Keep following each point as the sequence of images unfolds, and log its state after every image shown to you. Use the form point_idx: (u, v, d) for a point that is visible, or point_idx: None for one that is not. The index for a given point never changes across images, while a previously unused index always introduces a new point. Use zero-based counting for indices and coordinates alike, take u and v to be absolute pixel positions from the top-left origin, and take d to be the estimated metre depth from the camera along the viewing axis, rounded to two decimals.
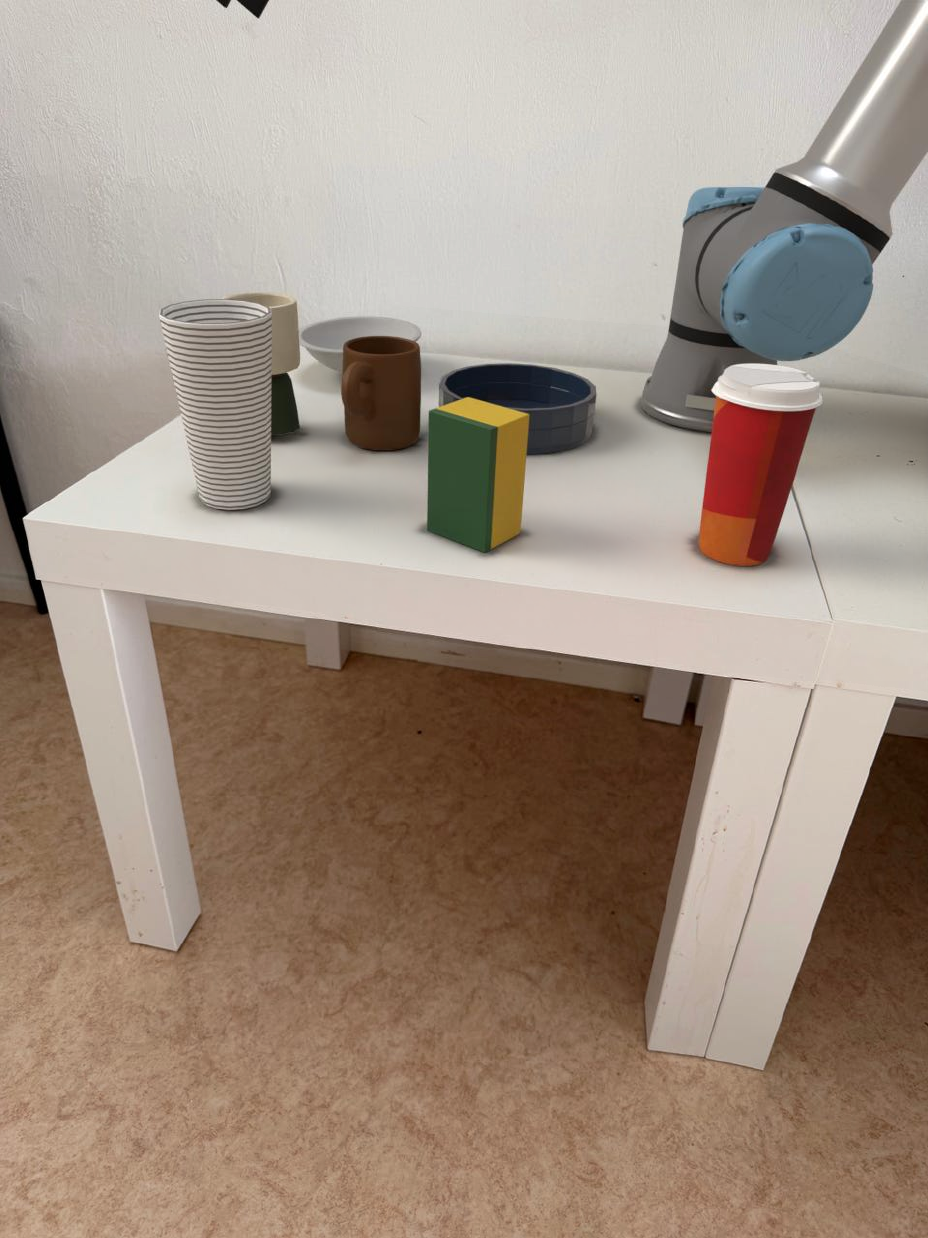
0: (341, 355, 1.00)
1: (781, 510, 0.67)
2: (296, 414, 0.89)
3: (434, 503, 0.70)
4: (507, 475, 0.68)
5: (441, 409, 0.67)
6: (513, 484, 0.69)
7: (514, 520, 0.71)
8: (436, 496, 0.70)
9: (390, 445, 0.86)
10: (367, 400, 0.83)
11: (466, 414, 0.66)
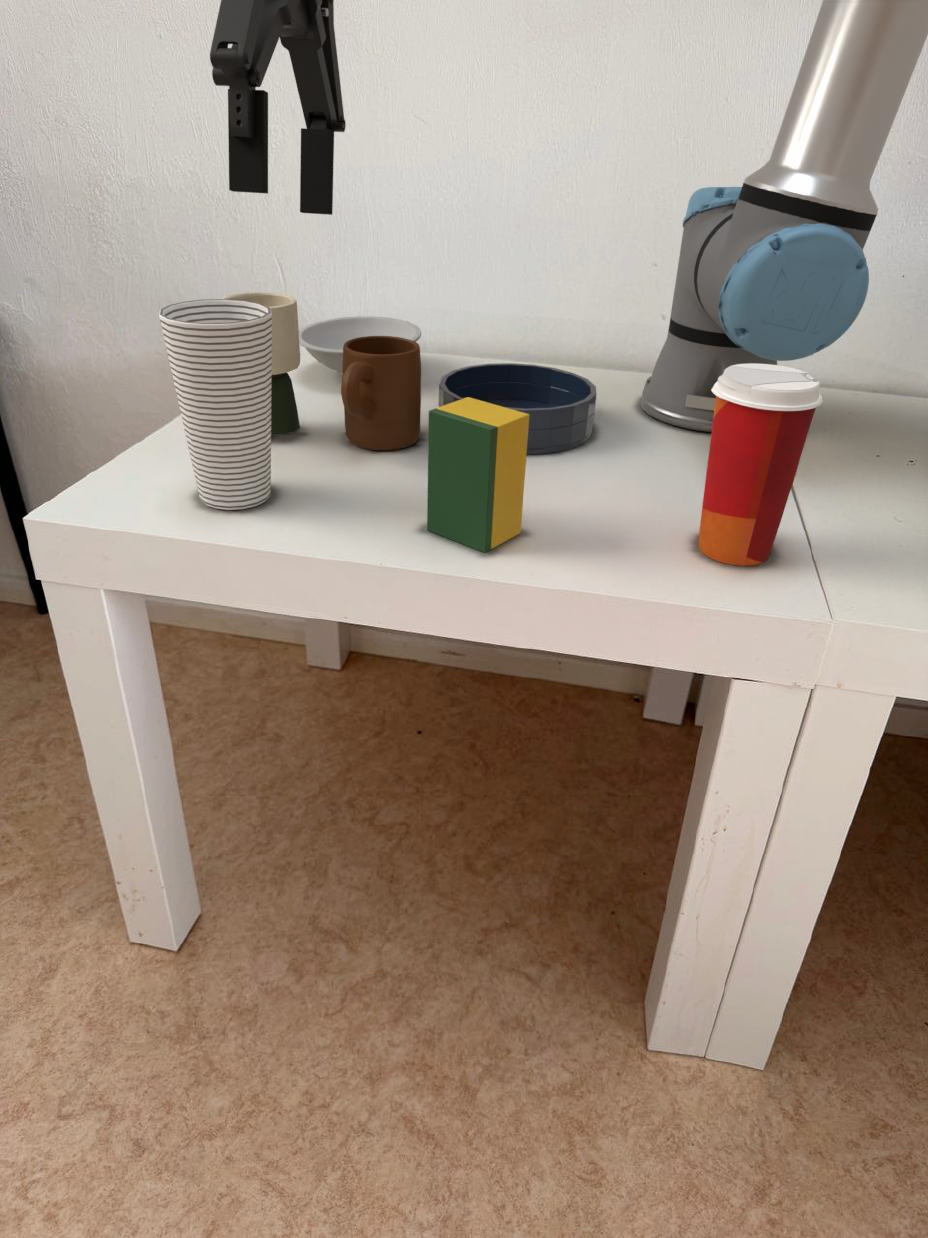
0: (341, 355, 1.00)
1: (781, 510, 0.67)
2: (296, 414, 0.89)
3: (434, 503, 0.70)
4: (507, 475, 0.68)
5: (441, 409, 0.67)
6: (513, 484, 0.69)
7: (514, 520, 0.71)
8: (436, 496, 0.70)
9: (390, 445, 0.86)
10: (367, 400, 0.83)
11: (466, 414, 0.66)
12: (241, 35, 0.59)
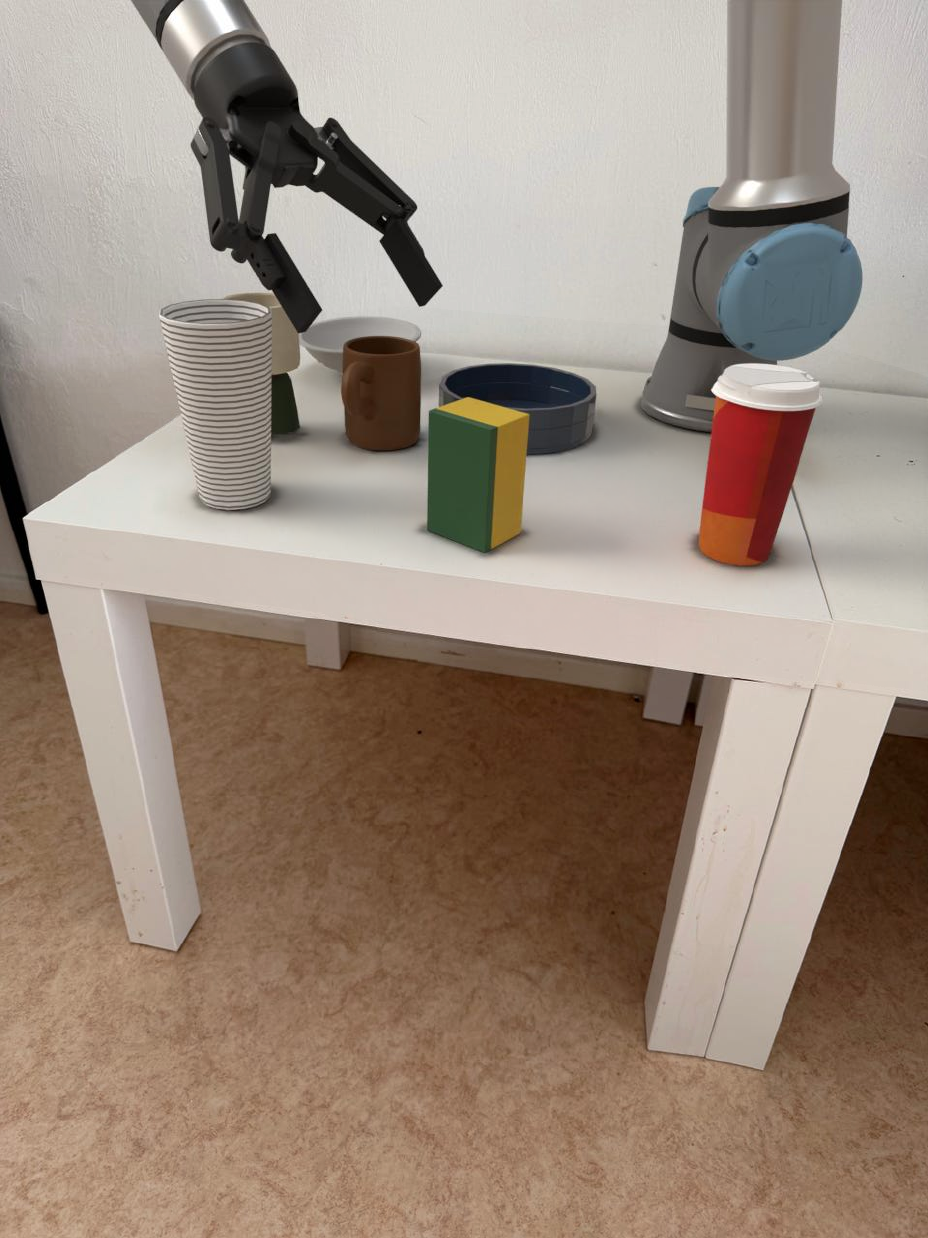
0: (341, 355, 1.00)
1: (781, 510, 0.67)
2: (296, 414, 0.89)
3: (434, 503, 0.70)
4: (507, 475, 0.68)
5: (441, 409, 0.67)
6: (513, 484, 0.69)
7: (514, 520, 0.71)
8: (436, 496, 0.70)
9: (390, 445, 0.86)
10: (367, 400, 0.83)
11: (466, 414, 0.66)
12: (219, 209, 0.62)
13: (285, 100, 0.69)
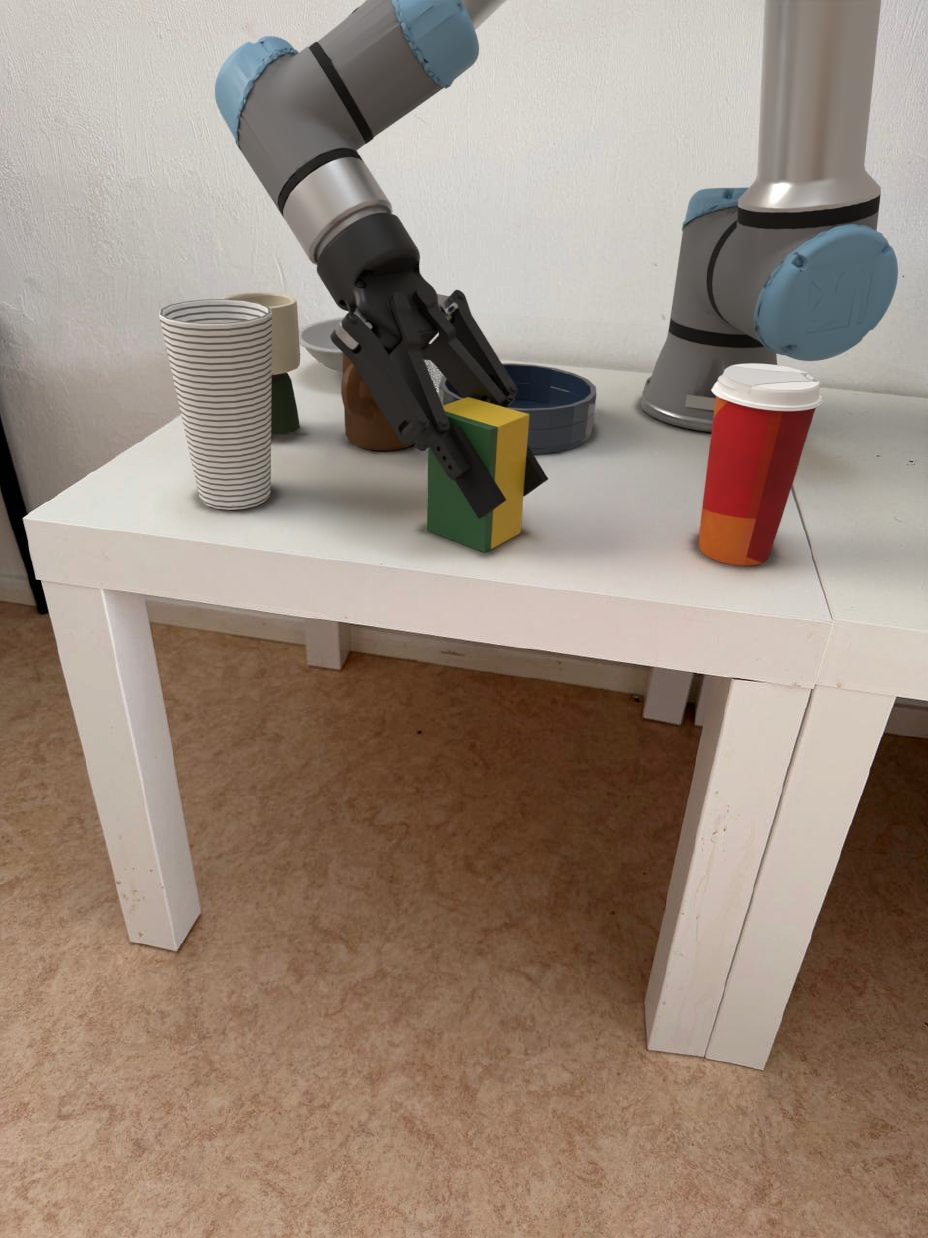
0: (341, 355, 1.00)
1: (781, 510, 0.67)
2: (296, 414, 0.89)
3: (434, 503, 0.70)
4: (507, 475, 0.68)
5: None
6: (513, 484, 0.69)
7: (514, 520, 0.71)
8: (436, 496, 0.70)
9: (390, 445, 0.86)
10: (367, 400, 0.83)
11: (465, 414, 0.66)
12: (405, 411, 0.63)
13: (408, 265, 0.68)
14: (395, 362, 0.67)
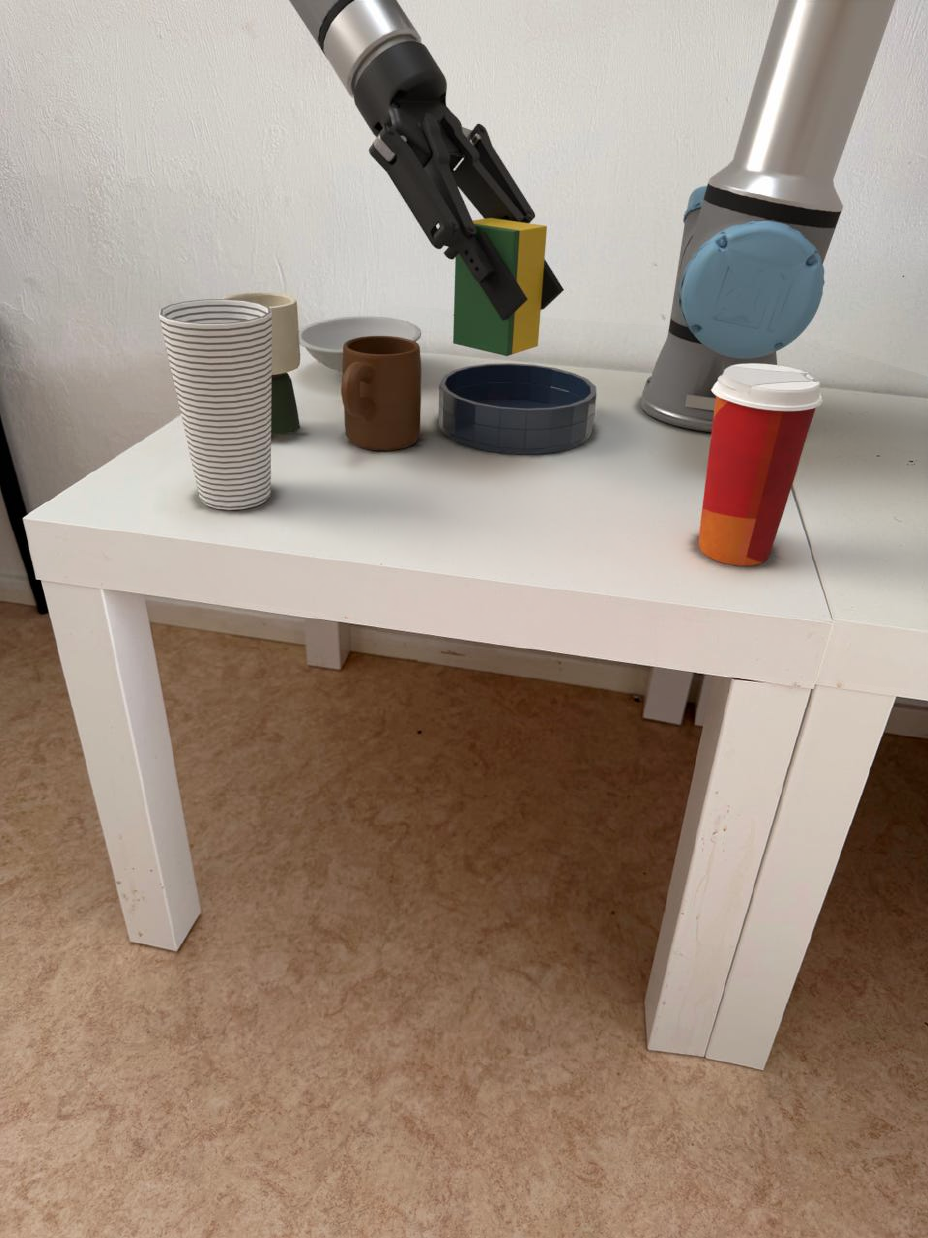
0: (341, 355, 1.00)
1: (781, 510, 0.67)
2: (296, 414, 0.89)
3: (460, 315, 0.78)
4: (527, 282, 0.75)
5: None
6: (532, 293, 0.76)
7: (532, 330, 0.78)
8: (462, 307, 0.77)
9: (390, 445, 0.86)
10: (367, 400, 0.83)
11: (490, 224, 0.74)
12: (437, 213, 0.71)
13: (436, 93, 0.75)
14: None
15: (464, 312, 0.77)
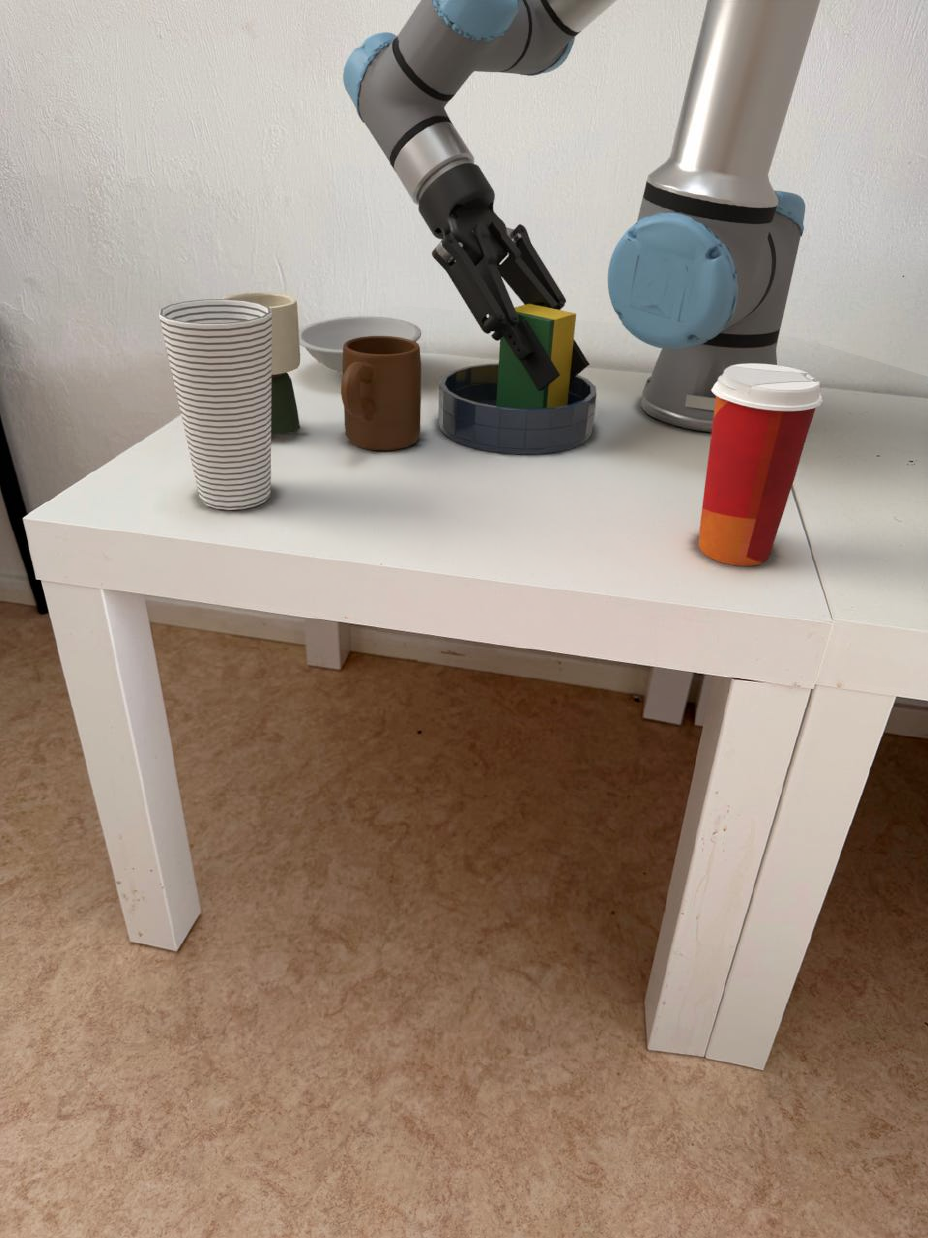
0: (341, 355, 1.00)
1: (781, 510, 0.67)
2: (296, 414, 0.89)
3: (503, 383, 0.94)
4: (559, 359, 0.91)
5: None
6: (563, 367, 0.92)
7: (563, 396, 0.94)
8: (505, 378, 0.93)
9: (390, 445, 0.86)
10: (367, 400, 0.83)
11: (529, 312, 0.90)
12: (487, 306, 0.87)
13: (486, 203, 0.91)
14: None
15: (506, 382, 0.93)
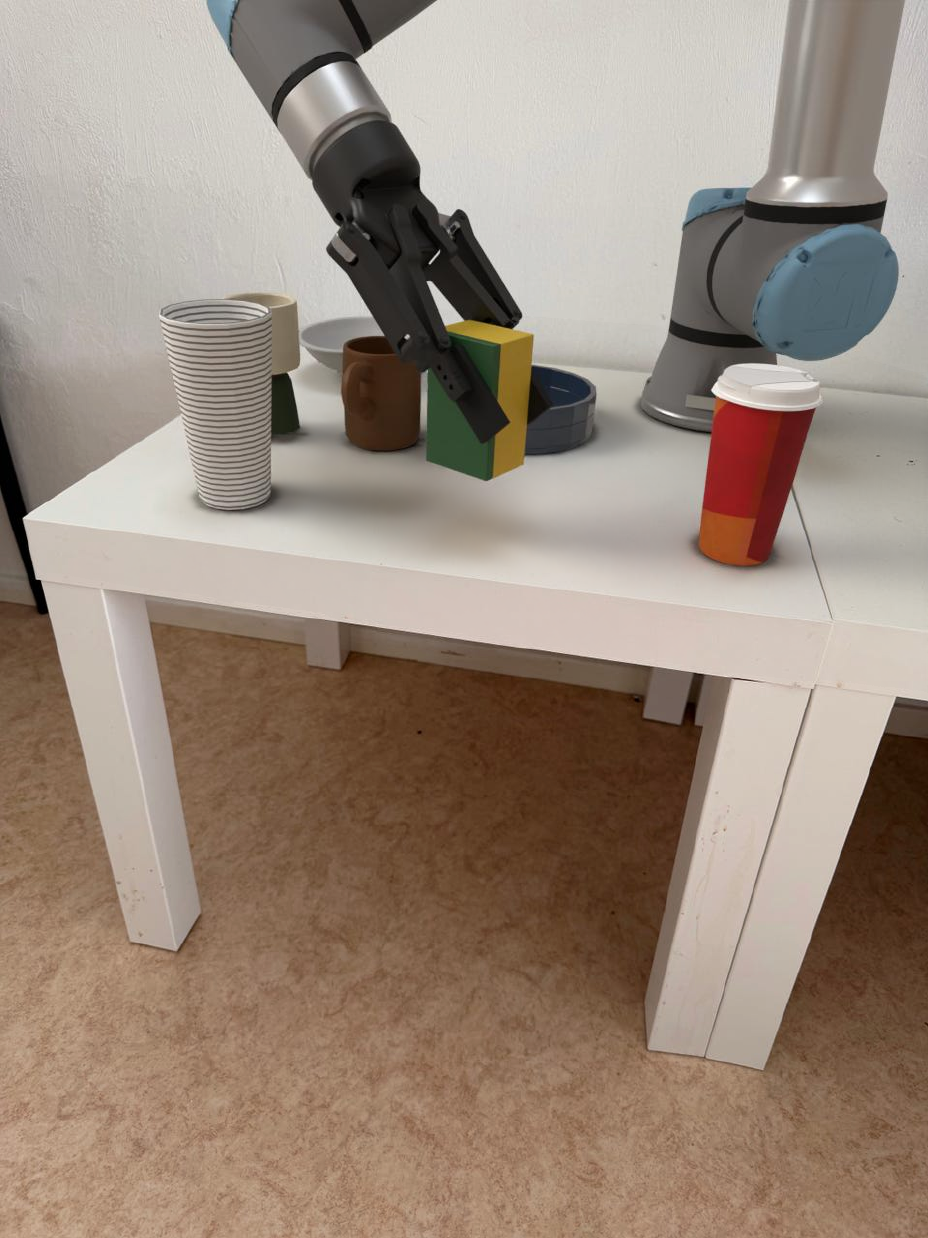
0: (341, 355, 1.00)
1: (781, 510, 0.67)
2: (296, 414, 0.89)
3: (433, 431, 0.67)
4: (510, 398, 0.65)
5: None
6: (516, 409, 0.66)
7: (517, 449, 0.68)
8: (436, 423, 0.67)
9: (390, 445, 0.86)
10: (367, 400, 0.83)
11: (467, 333, 0.63)
12: (404, 325, 0.60)
13: (408, 178, 0.65)
14: (394, 278, 0.64)
15: (438, 428, 0.67)
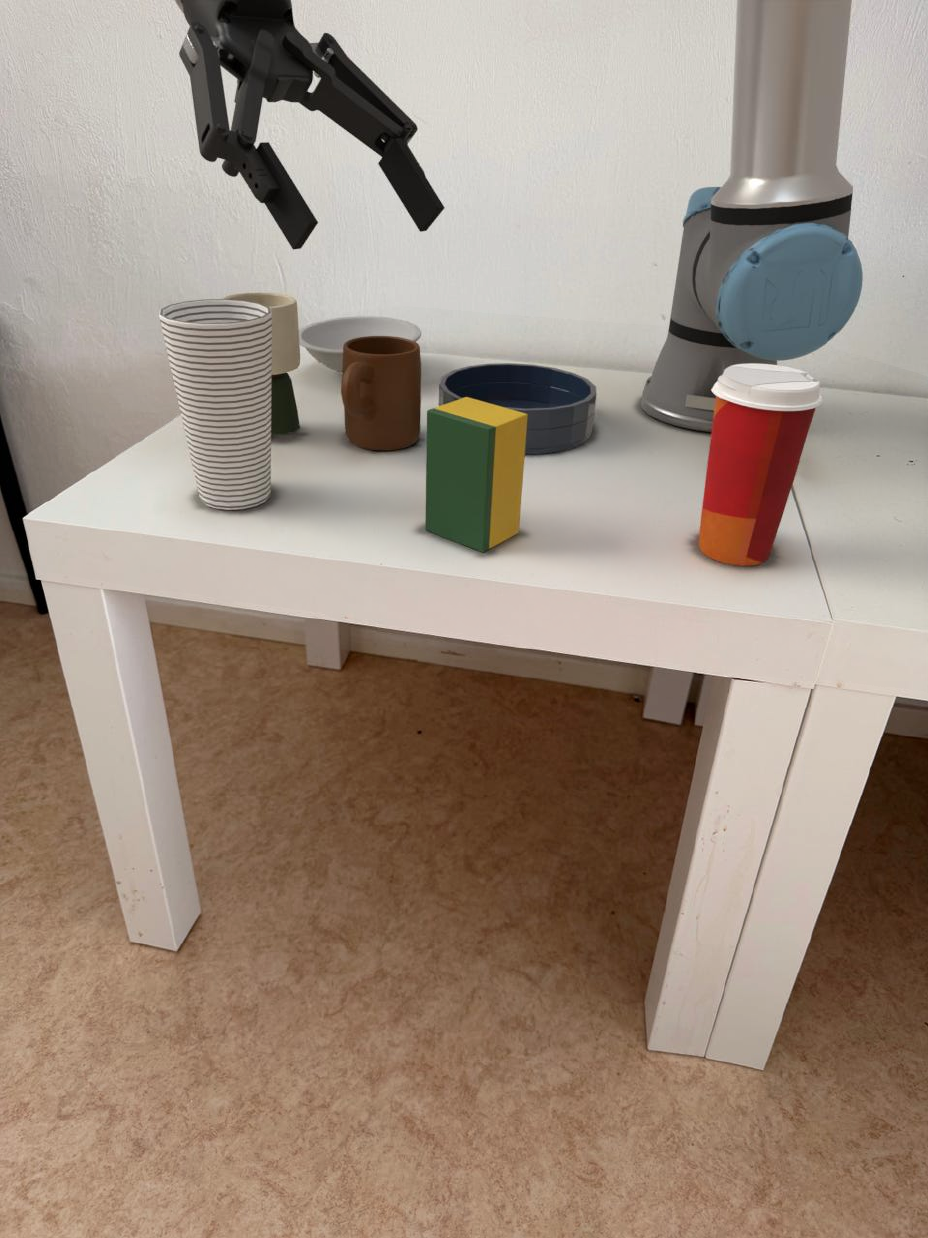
0: (341, 355, 1.00)
1: (781, 510, 0.67)
2: (296, 414, 0.89)
3: (432, 503, 0.70)
4: (505, 475, 0.68)
5: (439, 409, 0.67)
6: (511, 484, 0.69)
7: (512, 519, 0.71)
8: (434, 496, 0.70)
9: (390, 445, 0.86)
10: (367, 400, 0.83)
11: (464, 414, 0.66)
12: (208, 115, 0.59)
13: (278, 10, 0.66)
14: (239, 92, 0.64)
15: (436, 501, 0.70)
